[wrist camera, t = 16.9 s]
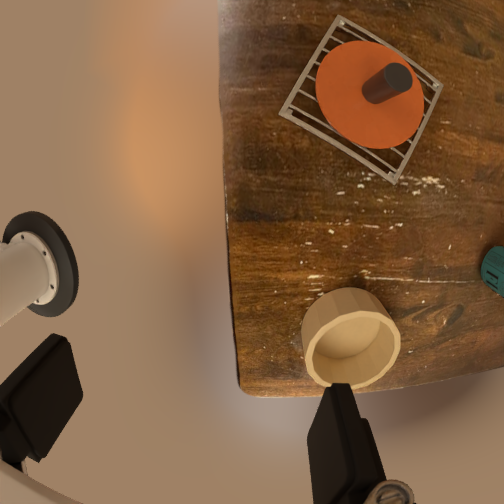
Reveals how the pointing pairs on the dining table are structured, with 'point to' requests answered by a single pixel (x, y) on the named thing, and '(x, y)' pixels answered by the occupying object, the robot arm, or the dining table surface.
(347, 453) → the robot arm
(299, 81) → the rack
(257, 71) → the dining table surface
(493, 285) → the beverage bottle
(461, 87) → the dining table surface
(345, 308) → the pot
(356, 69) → the lid
